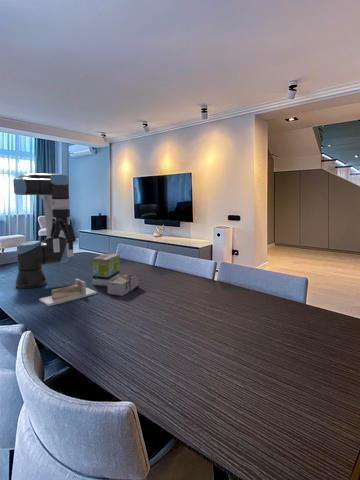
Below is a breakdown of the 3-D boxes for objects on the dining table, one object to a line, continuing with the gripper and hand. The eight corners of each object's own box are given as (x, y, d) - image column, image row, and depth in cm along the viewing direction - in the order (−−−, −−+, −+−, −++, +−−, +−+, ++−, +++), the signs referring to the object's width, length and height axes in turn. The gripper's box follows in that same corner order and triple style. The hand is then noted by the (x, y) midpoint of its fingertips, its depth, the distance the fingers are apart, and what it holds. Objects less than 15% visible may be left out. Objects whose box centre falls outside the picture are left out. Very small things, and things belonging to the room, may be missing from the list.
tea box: (109, 286, 163) (108, 259, 160) (92, 285, 165) (91, 258, 162) (120, 278, 177) (119, 253, 175) (104, 277, 179) (103, 253, 177)
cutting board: (39, 300, 140) (39, 298, 140) (86, 289, 157) (86, 287, 157) (48, 306, 133) (48, 304, 133) (96, 293, 150) (96, 291, 150)
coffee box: (122, 296, 146) (139, 287, 161) (122, 283, 145) (139, 275, 160) (107, 294, 150) (125, 285, 164) (106, 281, 149) (124, 273, 163)
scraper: (49, 296, 142) (49, 284, 141) (78, 290, 152) (77, 278, 151) (57, 301, 137) (56, 288, 136) (86, 293, 147) (85, 282, 146)
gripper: (41, 207, 144) (43, 251, 147) (66, 210, 127) (68, 259, 130) (56, 207, 149) (58, 249, 152) (82, 209, 132) (84, 257, 136)
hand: (63, 254), depth 141 cm, fingers open, 13 cm apart
